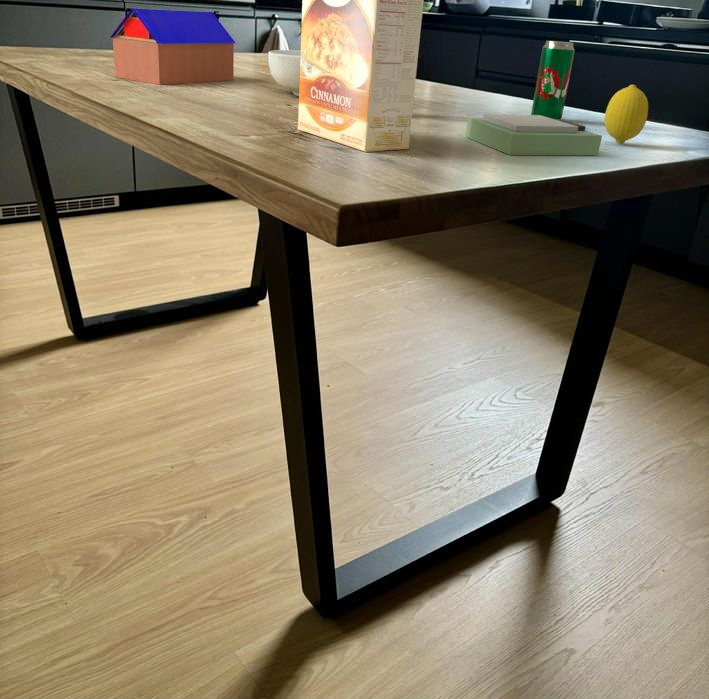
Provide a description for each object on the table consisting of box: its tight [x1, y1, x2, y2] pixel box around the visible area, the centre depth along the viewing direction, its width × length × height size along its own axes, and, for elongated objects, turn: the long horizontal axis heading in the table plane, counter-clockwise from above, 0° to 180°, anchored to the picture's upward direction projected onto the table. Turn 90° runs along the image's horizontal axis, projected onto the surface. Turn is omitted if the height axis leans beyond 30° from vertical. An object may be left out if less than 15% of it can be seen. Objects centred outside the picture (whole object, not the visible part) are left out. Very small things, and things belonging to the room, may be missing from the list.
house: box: [110, 8, 236, 86], centre depth 133 cm, size 12×20×12 cm, turn 147°
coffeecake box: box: [297, 0, 425, 153], centre depth 85 cm, size 15×7×20 cm, turn 36°
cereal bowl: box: [267, 49, 301, 97], centre depth 125 cm, size 17×17×7 cm
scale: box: [465, 113, 603, 156], centre depth 94 cm, size 13×12×3 cm
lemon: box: [604, 84, 649, 145], centre depth 100 cm, size 6×6×8 cm
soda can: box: [530, 40, 576, 119], centre depth 117 cm, size 5×5×12 cm
